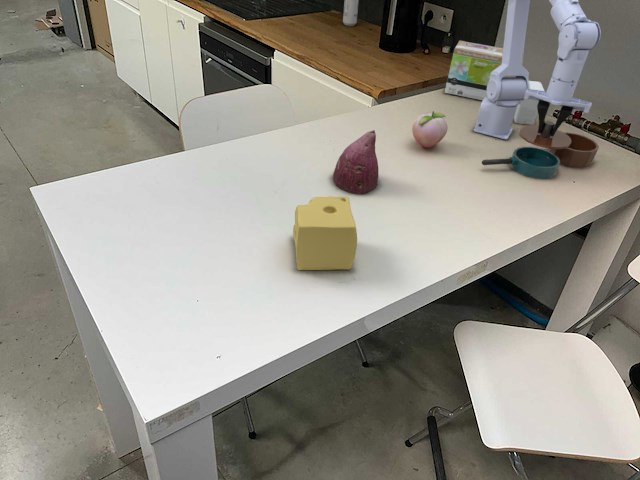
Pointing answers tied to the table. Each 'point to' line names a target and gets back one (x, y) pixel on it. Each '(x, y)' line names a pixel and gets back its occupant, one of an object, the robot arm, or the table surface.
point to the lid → (545, 136)
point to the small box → (528, 107)
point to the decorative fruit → (429, 129)
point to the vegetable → (358, 166)
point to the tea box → (472, 69)
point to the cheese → (325, 234)
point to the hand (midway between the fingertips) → (545, 133)
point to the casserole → (577, 151)
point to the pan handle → (500, 161)
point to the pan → (535, 162)
